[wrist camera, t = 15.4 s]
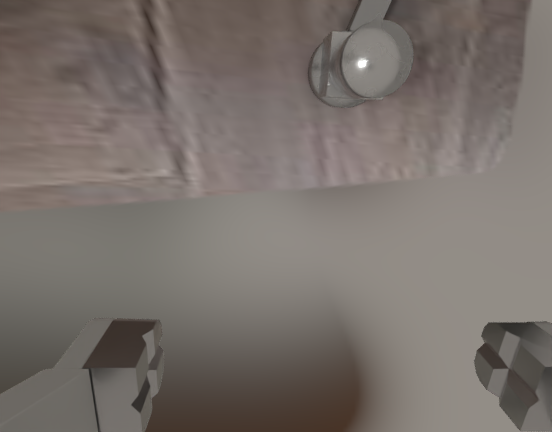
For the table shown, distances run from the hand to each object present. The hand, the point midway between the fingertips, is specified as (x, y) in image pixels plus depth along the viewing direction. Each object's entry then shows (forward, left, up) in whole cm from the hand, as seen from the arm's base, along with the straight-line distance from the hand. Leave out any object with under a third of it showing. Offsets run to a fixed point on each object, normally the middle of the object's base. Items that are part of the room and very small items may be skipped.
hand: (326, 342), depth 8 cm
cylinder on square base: (+7, +9, -29) cm, 31 cm away
